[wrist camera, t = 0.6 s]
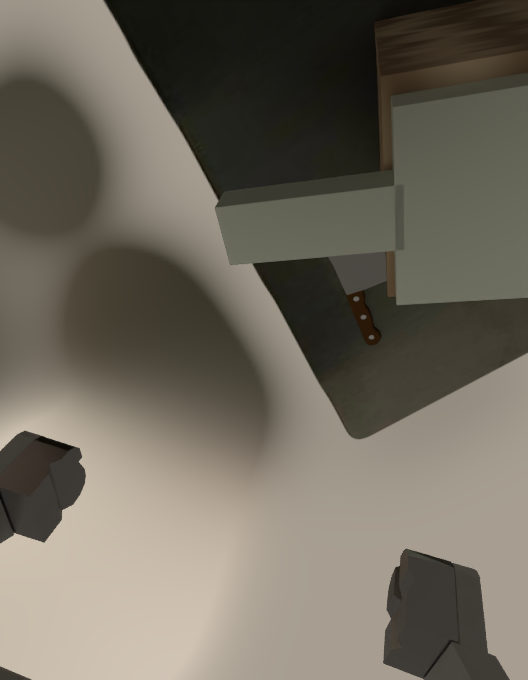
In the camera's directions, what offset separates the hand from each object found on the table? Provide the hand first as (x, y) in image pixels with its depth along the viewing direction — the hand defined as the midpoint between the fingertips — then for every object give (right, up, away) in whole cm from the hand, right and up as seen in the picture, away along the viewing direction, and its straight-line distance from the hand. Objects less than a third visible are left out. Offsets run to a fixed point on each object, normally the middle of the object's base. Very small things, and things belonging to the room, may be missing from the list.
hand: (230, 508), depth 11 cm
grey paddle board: (+9, +13, +17) cm, 23 cm away
